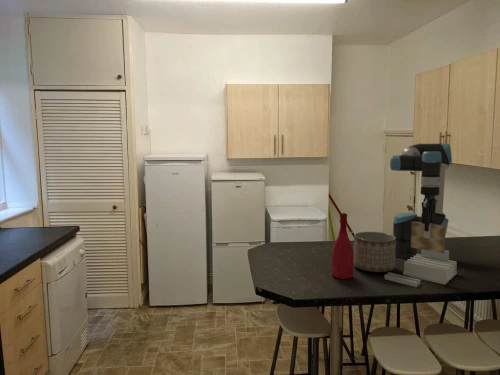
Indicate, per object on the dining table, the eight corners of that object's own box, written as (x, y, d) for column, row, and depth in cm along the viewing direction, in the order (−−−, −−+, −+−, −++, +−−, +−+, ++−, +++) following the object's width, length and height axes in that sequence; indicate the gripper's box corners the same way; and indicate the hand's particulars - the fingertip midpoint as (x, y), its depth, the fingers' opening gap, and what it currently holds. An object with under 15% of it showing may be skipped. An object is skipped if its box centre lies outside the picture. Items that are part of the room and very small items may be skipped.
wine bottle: (349, 281, 159) (351, 216, 155) (328, 277, 164) (329, 214, 161) (355, 274, 167) (357, 212, 164) (335, 271, 172) (336, 210, 169)
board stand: (384, 279, 161) (384, 274, 161) (388, 276, 165) (388, 272, 164) (416, 287, 152) (416, 282, 151) (420, 284, 155) (420, 279, 155)
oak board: (410, 247, 165) (411, 222, 164) (411, 246, 166) (413, 221, 165) (443, 253, 156) (444, 226, 154) (444, 252, 157) (445, 225, 155)
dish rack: (403, 274, 167) (404, 251, 165) (416, 265, 179) (417, 243, 178) (444, 284, 154) (446, 259, 153) (456, 273, 167) (457, 250, 166)
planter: (377, 278, 162) (378, 243, 160) (345, 266, 179) (346, 234, 177) (403, 270, 173) (404, 237, 171) (370, 259, 189) (371, 229, 187)
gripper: (433, 188, 150) (431, 242, 153) (444, 185, 160) (441, 236, 163) (415, 186, 155) (413, 239, 158) (426, 184, 166) (424, 233, 168)
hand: (427, 237), depth 160 cm, fingers closed on oak board, 2 cm apart
